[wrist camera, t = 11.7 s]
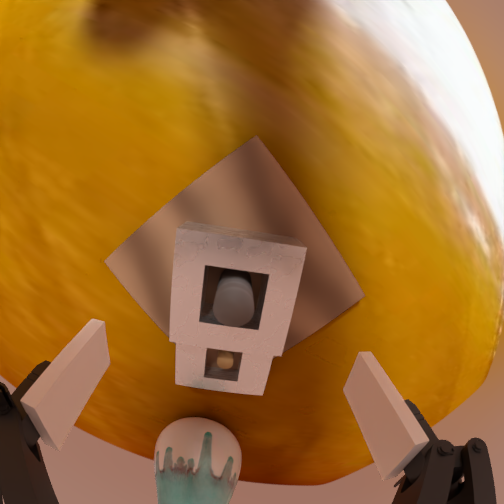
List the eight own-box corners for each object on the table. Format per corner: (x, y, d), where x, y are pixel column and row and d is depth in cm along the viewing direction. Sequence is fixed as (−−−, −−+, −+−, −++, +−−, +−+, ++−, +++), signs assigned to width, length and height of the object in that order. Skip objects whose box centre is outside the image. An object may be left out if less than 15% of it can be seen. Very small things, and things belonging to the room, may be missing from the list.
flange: (186, 221, 24) (176, 228, 20) (296, 238, 24) (307, 247, 21) (176, 372, 28) (169, 395, 24) (263, 384, 28) (266, 408, 24)
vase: (242, 452, 34) (245, 547, 16) (170, 448, 33) (153, 537, 16) (239, 407, 31) (241, 528, 14) (154, 402, 31) (120, 511, 13)
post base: (255, 138, 24) (261, 118, 16) (359, 290, 28) (392, 321, 20) (110, 257, 26) (73, 280, 18) (222, 380, 30) (218, 425, 22)
